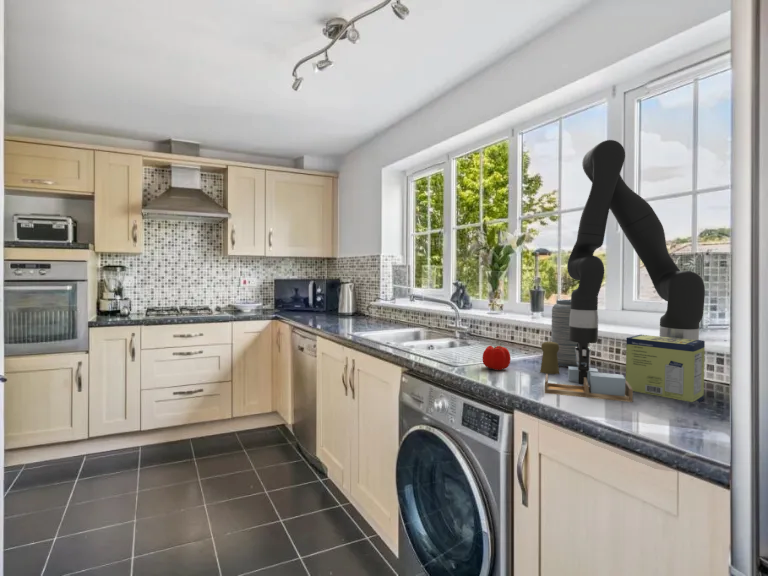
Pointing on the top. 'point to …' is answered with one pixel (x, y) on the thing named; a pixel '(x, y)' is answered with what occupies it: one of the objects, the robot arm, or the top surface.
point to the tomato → (496, 358)
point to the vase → (563, 333)
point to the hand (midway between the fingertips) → (581, 381)
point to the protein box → (666, 366)
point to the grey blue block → (574, 373)
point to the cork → (550, 358)
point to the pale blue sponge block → (607, 384)
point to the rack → (585, 391)
